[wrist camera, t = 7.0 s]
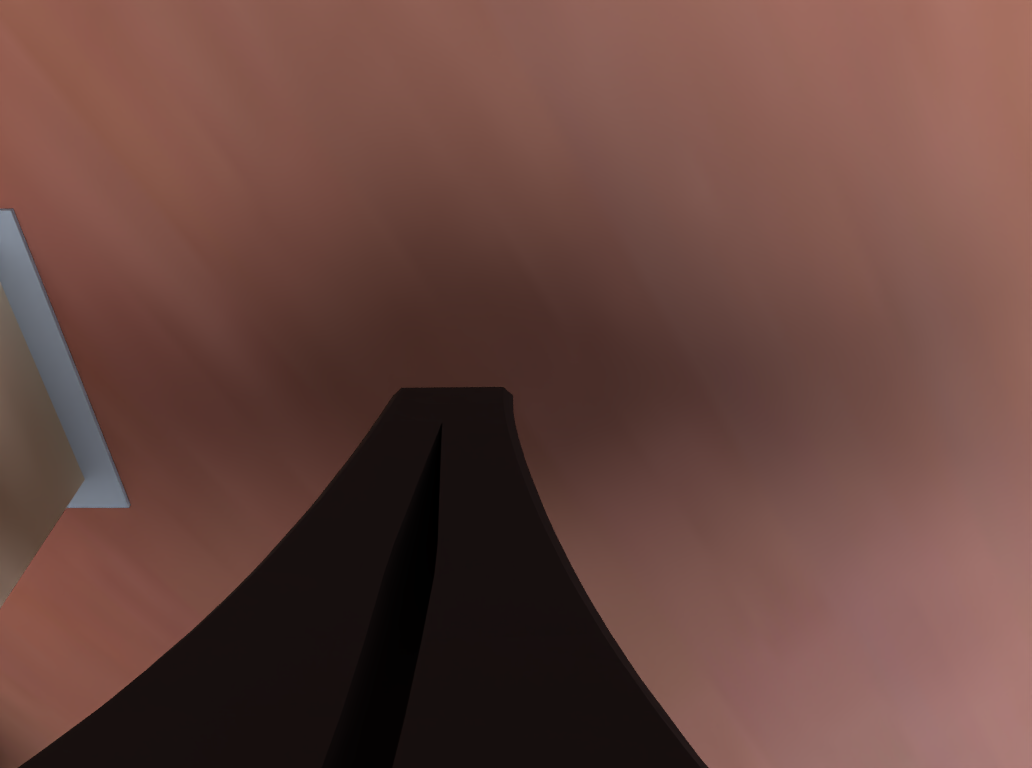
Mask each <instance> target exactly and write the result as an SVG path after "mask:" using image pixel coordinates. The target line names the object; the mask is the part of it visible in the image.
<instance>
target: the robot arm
mask: <svg viewBox="0 0 1032 768" xmlns="http://www.w3.org/2000/svg"><path fill="white" fill-rule="evenodd" d="M18 768H708V767H707V766H706V764H705V763H704V762H703V761H702V760H701V758H700V757H699V756H698V755H697V753H696V752H695V751H694V749H693V748H692V747H691V745H690V744H689V743H688V741H687V740H686V739H685V737H684V736H683V735H682V733H681V732H680V731H679V729H678V728H677V727H676V725H675V724H674V723H673V721H672V720H671V719H670V717H669V716H668V715H667V713H666V712H665V711H664V709H663V708H662V707H661V705H660V704H659V703H658V701H657V700H656V699H655V697H654V696H653V695H652V693H651V692H650V690H649V689H648V688H647V686H646V685H645V684H644V682H643V681H642V680H641V678H640V677H639V675H638V674H637V673H636V671H635V670H634V668H633V667H632V665H631V664H630V662H629V661H628V659H627V657H626V656H625V654H624V653H623V651H622V650H621V648H620V647H619V645H618V644H617V642H616V641H615V639H614V638H613V636H612V635H611V633H610V632H609V630H608V628H607V627H606V625H605V623H604V622H603V620H602V618H601V617H600V615H599V613H598V612H597V610H596V609H595V607H594V605H593V604H592V602H591V600H590V598H589V597H588V595H587V593H586V591H585V590H584V588H583V586H582V584H581V582H580V581H579V579H578V577H577V575H576V573H575V571H574V570H573V568H572V566H571V564H570V562H569V560H568V558H567V556H566V554H565V552H564V550H563V548H562V546H561V544H560V542H559V540H558V538H557V536H556V534H555V532H554V530H553V527H552V525H551V523H550V521H549V519H548V516H547V514H546V512H545V510H544V507H543V505H542V502H541V500H540V497H539V495H538V492H537V490H536V487H535V485H534V482H533V480H532V478H531V475H530V472H529V469H528V467H527V464H526V461H525V458H524V454H523V451H522V448H521V444H520V441H519V438H518V434H517V429H516V425H515V420H514V413H513V395H512V394H511V393H509V392H508V391H507V390H506V389H505V388H504V387H450V388H401V389H400V390H399V391H398V392H397V393H396V394H395V395H393V397H392V398H391V400H390V401H389V403H388V404H387V406H386V407H385V409H384V410H383V412H382V413H381V415H380V416H379V418H378V419H377V421H376V422H375V423H374V425H373V426H372V428H371V429H370V431H369V432H368V433H367V435H366V436H365V438H364V439H363V440H362V442H361V443H360V444H359V446H358V447H357V449H356V450H355V451H354V453H353V454H352V455H351V457H350V458H349V459H348V461H347V462H346V463H345V465H344V466H343V467H342V468H341V470H340V471H339V472H338V473H337V475H336V476H335V477H334V478H333V480H332V481H331V482H330V484H329V485H328V486H327V487H326V489H325V490H324V491H323V492H322V494H321V495H320V496H319V497H318V499H317V500H316V501H315V502H314V504H313V505H312V506H311V507H310V508H309V510H308V511H307V512H306V513H305V514H304V515H303V516H302V518H301V519H300V520H299V521H298V522H297V523H296V524H295V525H294V527H293V528H292V529H291V530H290V531H289V532H288V533H287V534H286V536H285V537H284V538H283V539H282V540H281V541H280V542H279V543H278V545H277V546H276V547H275V548H274V549H273V550H272V551H271V552H270V554H269V555H268V556H267V557H266V558H265V559H264V560H263V561H262V562H261V563H260V564H259V565H258V566H257V568H256V569H255V570H254V571H253V572H252V573H251V574H250V575H249V576H248V577H247V578H246V579H245V580H244V581H243V582H242V583H241V584H240V585H239V586H238V587H237V588H236V589H235V590H234V591H233V592H232V593H231V594H230V595H229V596H228V597H227V598H226V599H225V600H224V601H223V602H222V603H221V604H219V605H218V606H217V607H216V608H215V609H214V610H213V611H212V612H211V613H210V614H209V615H208V616H207V617H206V618H205V619H204V620H203V621H202V622H200V623H199V624H198V625H197V626H196V627H195V628H194V629H193V630H192V631H191V632H190V633H188V634H187V635H186V636H185V637H184V638H183V639H181V640H180V641H179V642H178V643H177V644H176V645H175V646H173V647H172V648H171V649H170V650H169V651H168V652H166V653H165V654H164V655H163V656H162V657H161V658H159V659H158V660H157V661H156V662H155V663H154V664H153V665H151V666H150V667H149V668H148V669H147V670H146V671H144V672H143V673H142V674H141V675H140V676H138V677H137V678H136V679H135V680H133V681H132V682H131V683H130V684H129V685H127V686H126V687H125V688H124V689H123V690H121V691H120V692H119V693H118V694H117V695H115V696H114V697H113V698H112V699H110V700H109V701H108V702H106V703H105V704H104V705H103V706H101V707H100V708H99V709H98V710H96V711H95V712H94V713H92V714H91V715H90V716H88V717H87V718H85V719H84V720H83V721H81V722H80V723H79V724H77V725H76V726H75V727H73V728H72V729H71V730H69V731H68V732H67V733H65V734H64V735H62V736H61V737H60V738H58V739H57V740H56V741H54V742H53V743H52V744H50V745H49V746H48V747H46V748H45V749H44V750H42V751H41V752H39V753H38V754H37V755H35V756H34V757H32V758H31V759H30V760H28V761H27V762H25V763H24V764H23V765H21V766H20V767H18Z"/></svg>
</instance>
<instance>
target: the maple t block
mask: <svg viewBox="0 0 1032 768" xmlns="http://www.w3.org/2000/svg"><path fill="white" fill-rule="evenodd" d="M84 480H85V479H84V476H83V474H82V472H81V469H80V467H79V464H78V462H77V460H76V458H75V455H74V453H73V450H72V448H71V446H70V443H69V441H68V439H67V436H66V434H65V432H64V429H63V427H62V425H61V422H60V420H59V418H58V415H57V413H56V411H55V408H54V406H53V404H52V401H51V399H50V397H49V394H48V392H47V390H46V387H45V385H44V383H43V380H42V378H41V376H40V373H39V371H38V369H37V366H36V364H35V362H34V359H33V357H32V355H31V352H30V350H29V348H28V345H27V343H26V341H25V338H24V336H23V334H22V331H21V329H20V327H19V324H18V322H17V320H16V317H15V315H14V313H13V310H12V308H11V306H10V303H9V301H8V299H7V296H6V294H5V292H4V289H3V287H2V285H1V282H0V608H1V606H2V605H3V603H4V602H5V600H6V599H7V597H8V596H9V594H10V593H11V591H12V590H13V588H14V587H15V585H16V584H17V582H18V581H19V579H20V578H21V576H22V575H23V573H24V571H25V570H26V568H27V567H28V565H29V564H30V562H31V561H32V559H33V558H34V556H35V555H36V553H37V552H38V550H39V549H40V547H41V546H42V544H43V543H44V541H45V540H46V538H47V536H48V535H49V533H50V532H51V530H52V529H53V527H54V526H55V524H56V523H57V521H58V520H59V518H60V517H61V515H62V514H63V512H64V511H65V509H66V508H67V506H68V505H69V503H70V501H71V500H72V498H73V497H74V495H75V494H76V492H77V491H78V489H79V488H80V486H81V485H82V483H83V482H84Z"/></svg>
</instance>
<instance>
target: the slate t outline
mask: <svg viewBox="0 0 1032 768" xmlns="http://www.w3.org/2000/svg"><path fill="white" fill-rule="evenodd" d="M0 282H1V285H2V287H3V289H4V292H5V294H6V296H7V299H8V301H9V303H10V306H11V308H12V310H13V313H14V315H15V317H16V320H17V322H18V324H19V327H20V329H21V331H22V334H23V336H24V338H25V341H26V343H27V345H28V348H29V350H30V352H31V355H32V357H33V359H34V362H35V364H36V366H37V369H38V371H39V373H40V376H41V378H42V380H43V383H44V385H45V387H46V390H47V392H48V394H49V397H50V399H51V401H52V404H53V406H54V408H55V411H56V413H57V415H58V418H59V420H60V422H61V425H62V427H63V429H64V432H65V434H66V436H67V439H68V441H69V443H70V446H71V448H72V450H73V453H74V455H75V458H76V460H77V462H78V464H79V467H80V469H81V472H82V474H83V476H84V479H85V480H84V482H83V483H82V485H81V486H80V488H79V489H78V491H77V492H76V494H75V495H74V497H73V498H72V500H71V501H70V503H69V505H68V506H67V508H129V507H130V502H129V500H128V497H127V495H126V492H125V489H124V487H123V484H122V482H121V479H120V477H119V474H118V472H117V469H116V467H115V464H114V462H113V459H112V457H111V454H110V452H109V449H108V447H107V444H106V442H105V439H104V437H103V434H102V432H101V429H100V426H99V424H98V421H97V419H96V416H95V414H94V411H93V409H92V406H91V404H90V401H89V399H88V396H87V394H86V391H85V389H84V386H83V384H82V381H81V379H80V376H79V374H78V371H77V369H76V366H75V363H74V361H73V358H72V356H71V353H70V351H69V348H68V346H67V343H66V341H65V338H64V336H63V333H62V331H61V328H60V326H59V323H58V321H57V318H56V316H55V313H54V311H53V308H52V305H51V303H50V300H49V298H48V295H47V293H46V290H45V288H44V285H43V283H42V280H41V278H40V275H39V273H38V270H37V268H36V265H35V263H34V260H33V258H32V255H31V253H30V250H29V248H28V245H27V242H26V240H25V237H24V235H23V232H22V230H21V227H20V225H19V222H18V220H17V217H16V215H15V212H14V210H13V209H0Z"/></svg>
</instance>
